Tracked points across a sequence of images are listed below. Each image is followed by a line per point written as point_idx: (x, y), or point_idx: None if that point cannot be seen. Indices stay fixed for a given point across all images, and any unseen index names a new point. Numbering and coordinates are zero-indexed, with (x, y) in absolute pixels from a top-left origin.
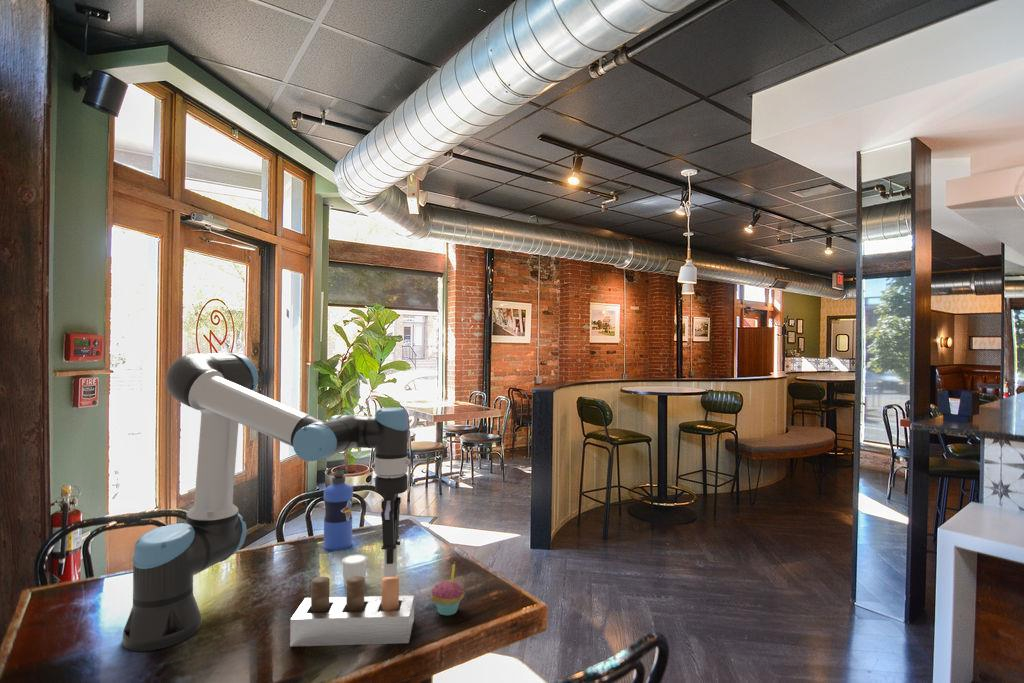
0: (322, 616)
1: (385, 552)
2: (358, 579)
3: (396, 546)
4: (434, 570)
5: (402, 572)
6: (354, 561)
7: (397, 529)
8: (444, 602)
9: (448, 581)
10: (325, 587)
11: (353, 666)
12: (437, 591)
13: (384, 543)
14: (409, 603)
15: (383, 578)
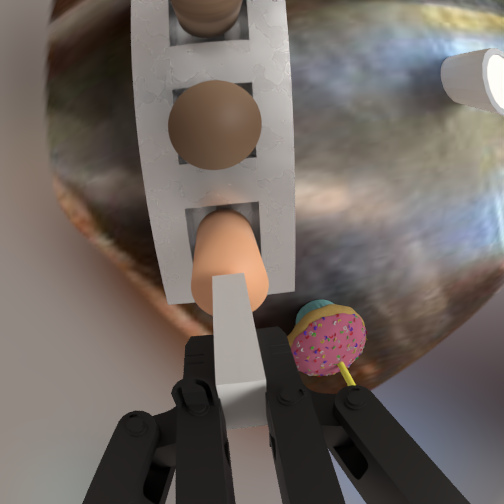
0: (144, 40)
1: (216, 369)
2: (217, 139)
3: (261, 424)
4: (477, 251)
5: (486, 186)
6: (493, 80)
7: (352, 483)
8: None
9: (348, 356)
10: (180, 2)
11: (75, 174)
12: (312, 338)
13: (107, 461)
14: None
15: (232, 259)
